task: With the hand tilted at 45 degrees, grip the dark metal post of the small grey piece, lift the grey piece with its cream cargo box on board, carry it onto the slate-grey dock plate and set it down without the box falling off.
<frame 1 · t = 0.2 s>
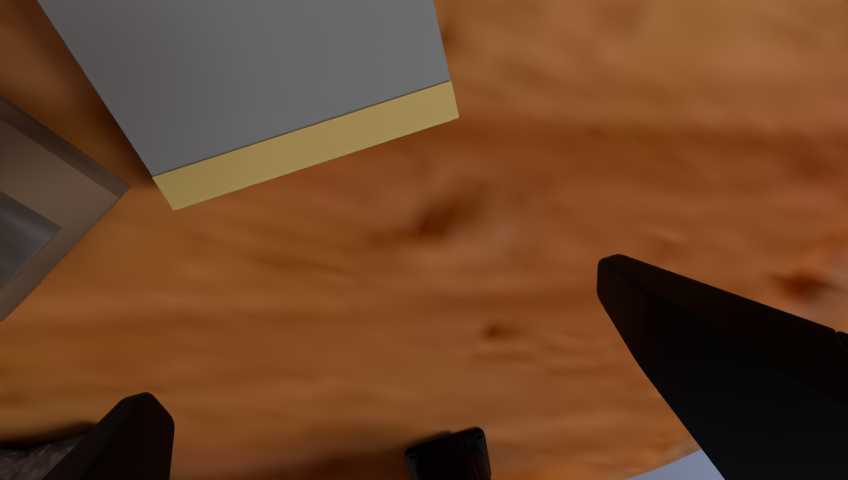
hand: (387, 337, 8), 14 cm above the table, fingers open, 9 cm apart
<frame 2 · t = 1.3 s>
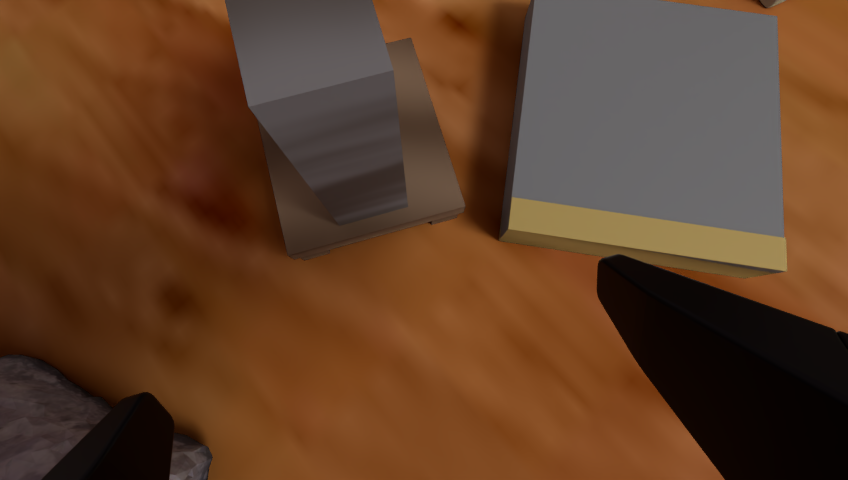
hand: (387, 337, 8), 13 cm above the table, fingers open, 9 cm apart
dock: (627, 138, 24), on the table
grey piece: (358, 155, 23), on the table, touching cargo box
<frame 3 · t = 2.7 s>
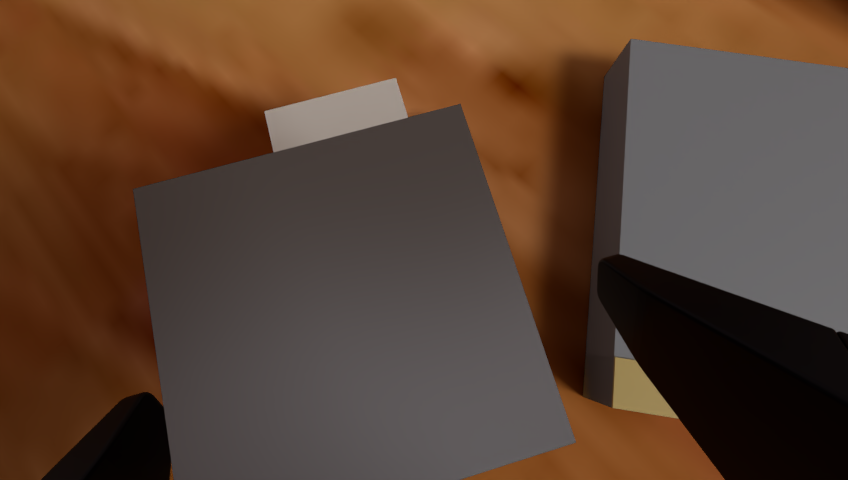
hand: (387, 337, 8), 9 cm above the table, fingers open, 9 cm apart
dock: (751, 246, 17), on the table
grey piece: (386, 269, 17), on the table, touching cargo box
cargo box: (365, 199, 16), point 2 cm above the table, touching grey piece
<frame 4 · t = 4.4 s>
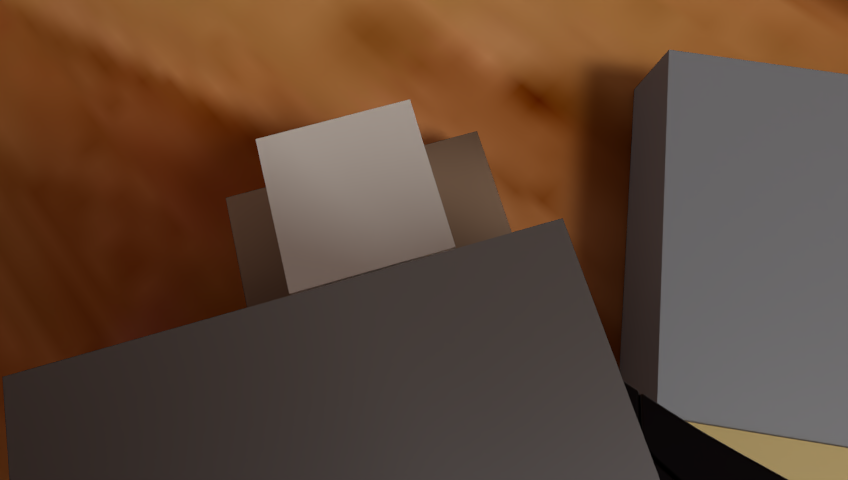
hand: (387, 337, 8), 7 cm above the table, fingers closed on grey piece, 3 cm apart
dock: (799, 279, 16), on the table
grey piece: (394, 306, 15), on the table, touching cargo box, gripper
cargo box: (371, 230, 14), point 2 cm above the table, touching grey piece
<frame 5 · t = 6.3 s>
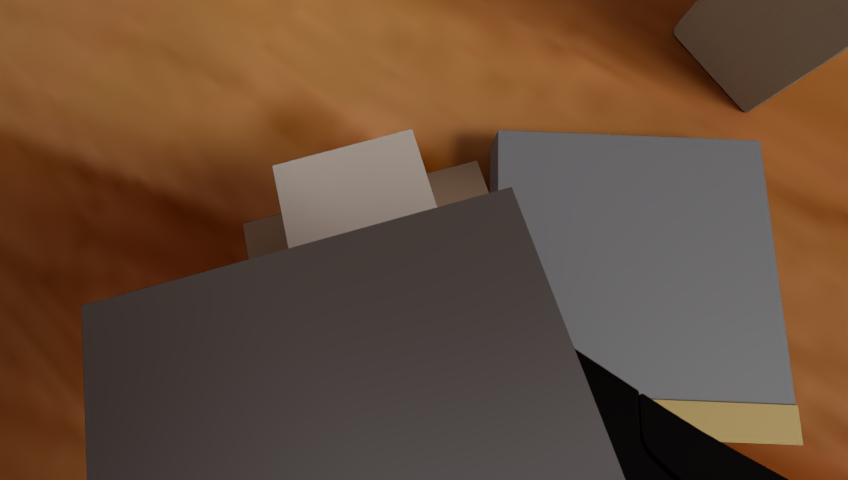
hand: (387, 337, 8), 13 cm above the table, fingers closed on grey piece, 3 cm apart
dock: (614, 281, 22), on the table
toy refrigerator: (755, 48, 25), on the table
grey piece: (400, 327, 16), point 5 cm above the table, tilted 6°, touching cargo box, gripper
cargo box: (378, 253, 15), point 7 cm above the table, tilted 6°, touching grey piece
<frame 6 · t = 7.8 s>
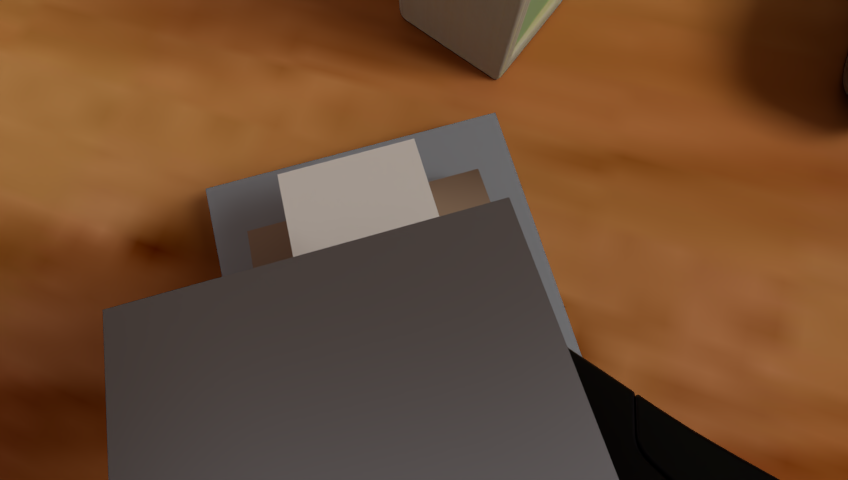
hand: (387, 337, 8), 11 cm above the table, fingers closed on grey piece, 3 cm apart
dock: (399, 308, 19), on the table
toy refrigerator: (493, 8, 23), on the table
grey piece: (402, 334, 16), point 3 cm above the table, tilted 7°, touching cargo box, dock, gripper
cargo box: (380, 260, 15), point 5 cm above the table, tilted 7°, touching grey piece
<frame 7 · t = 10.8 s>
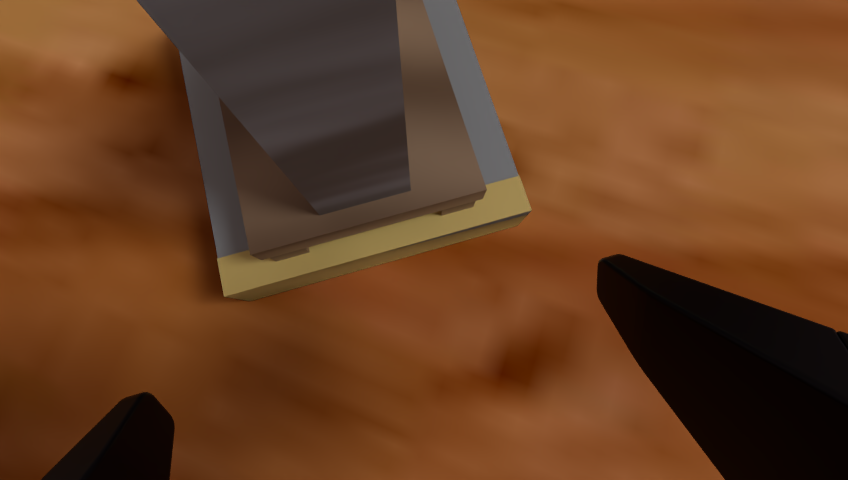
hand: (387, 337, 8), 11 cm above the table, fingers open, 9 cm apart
dock: (350, 130, 21), on the table
grey piece: (347, 127, 18), point 3 cm above the table, touching cargo box, dock
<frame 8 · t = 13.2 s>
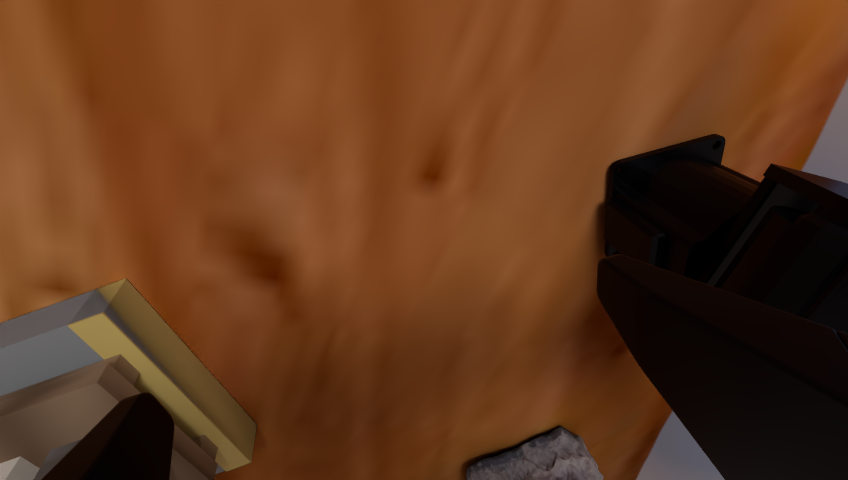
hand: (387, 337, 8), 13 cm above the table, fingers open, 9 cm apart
dock: (84, 404, 24), on the table
grey piece: (83, 438, 22), point 3 cm above the table, touching cargo box, dock
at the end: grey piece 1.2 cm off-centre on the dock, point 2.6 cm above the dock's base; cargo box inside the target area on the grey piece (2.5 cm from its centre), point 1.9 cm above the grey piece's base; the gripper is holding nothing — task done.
